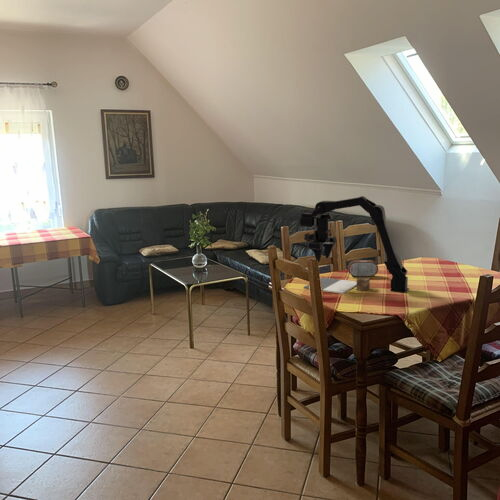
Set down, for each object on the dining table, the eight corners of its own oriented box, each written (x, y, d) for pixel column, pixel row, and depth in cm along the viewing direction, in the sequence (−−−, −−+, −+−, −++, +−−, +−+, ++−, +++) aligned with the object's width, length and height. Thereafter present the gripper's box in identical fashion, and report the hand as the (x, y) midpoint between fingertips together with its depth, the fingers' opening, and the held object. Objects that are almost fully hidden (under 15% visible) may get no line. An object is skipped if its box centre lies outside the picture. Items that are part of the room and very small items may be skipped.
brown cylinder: (369, 288, 231) (369, 278, 230) (365, 291, 227) (365, 280, 226) (360, 287, 233) (360, 277, 232) (356, 289, 230) (356, 279, 229)
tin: (377, 275, 254) (377, 259, 252) (378, 277, 251) (378, 260, 249) (347, 275, 255) (347, 259, 254) (348, 277, 252) (348, 261, 251)
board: (360, 283, 240) (360, 282, 240) (343, 293, 224) (343, 292, 224) (322, 278, 252) (322, 277, 252) (303, 288, 236) (303, 286, 236)
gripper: (316, 224, 247) (316, 254, 250) (297, 229, 232) (298, 262, 236) (337, 225, 241) (336, 256, 244) (319, 231, 226) (319, 264, 229)
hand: (322, 260), depth 238 cm, fingers open, 9 cm apart
